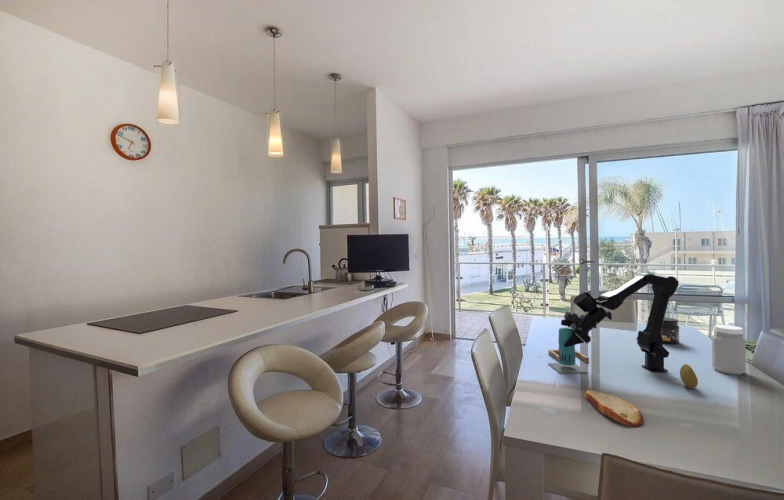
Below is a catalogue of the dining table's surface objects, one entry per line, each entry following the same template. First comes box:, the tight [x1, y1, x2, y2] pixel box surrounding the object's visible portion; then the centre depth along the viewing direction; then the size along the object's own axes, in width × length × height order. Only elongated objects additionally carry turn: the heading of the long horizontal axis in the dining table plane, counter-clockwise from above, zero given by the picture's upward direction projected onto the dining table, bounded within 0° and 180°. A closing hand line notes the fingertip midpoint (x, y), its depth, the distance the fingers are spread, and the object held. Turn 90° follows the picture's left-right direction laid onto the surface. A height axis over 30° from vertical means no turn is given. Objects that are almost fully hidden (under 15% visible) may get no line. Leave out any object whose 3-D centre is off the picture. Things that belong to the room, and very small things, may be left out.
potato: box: [679, 364, 699, 389], centre depth 127 cm, size 7×8×8 cm
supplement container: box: [661, 316, 680, 345], centre depth 182 cm, size 10×10×12 cm
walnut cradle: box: [547, 349, 590, 363], centre depth 162 cm, size 12×12×2 cm
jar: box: [711, 324, 747, 376], centre depth 141 cm, size 10×10×18 cm
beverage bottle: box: [557, 318, 577, 366], centre depth 148 cm, size 6×7×20 cm
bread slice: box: [583, 389, 644, 428], centre depth 113 cm, size 18×18×4 cm
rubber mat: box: [547, 362, 588, 375], centre depth 149 cm, size 11×11×1 cm
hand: (563, 343), depth 149 cm, fingers closed on beverage bottle, 6 cm apart
